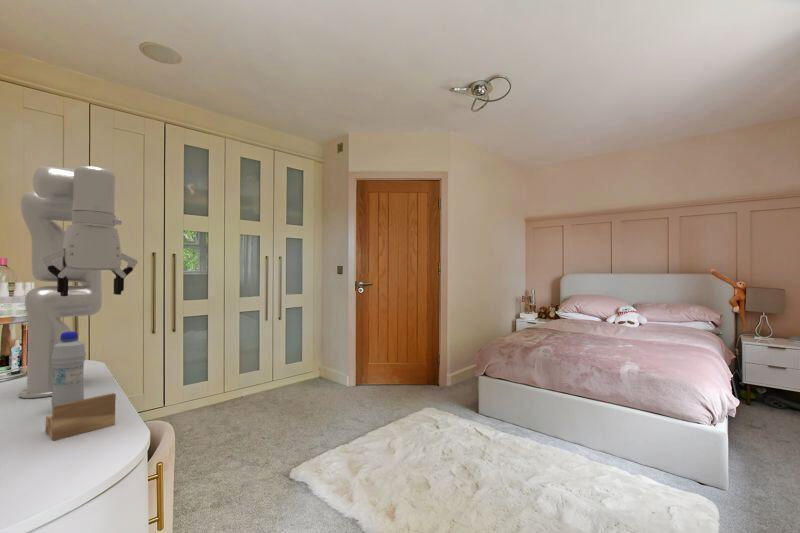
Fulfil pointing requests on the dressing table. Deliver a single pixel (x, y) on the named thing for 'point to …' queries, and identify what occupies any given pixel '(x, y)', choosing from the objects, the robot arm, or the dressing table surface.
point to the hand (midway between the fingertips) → (91, 295)
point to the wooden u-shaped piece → (80, 416)
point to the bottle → (68, 369)
